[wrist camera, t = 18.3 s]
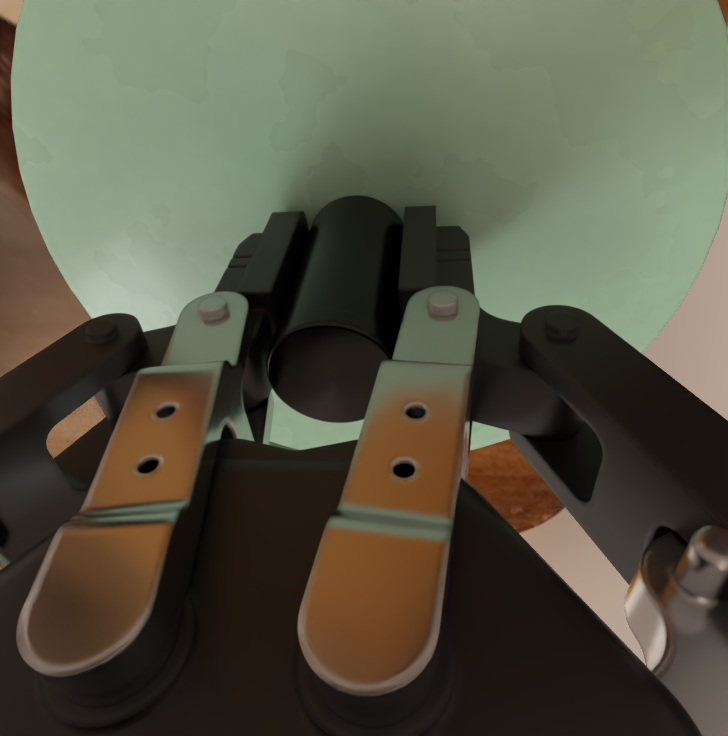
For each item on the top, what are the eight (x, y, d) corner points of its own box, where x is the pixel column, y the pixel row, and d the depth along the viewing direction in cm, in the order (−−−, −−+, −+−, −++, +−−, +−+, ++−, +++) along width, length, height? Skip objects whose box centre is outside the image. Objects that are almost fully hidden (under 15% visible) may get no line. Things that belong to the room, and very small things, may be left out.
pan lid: (161, 434, 21) (86, 591, 16) (-122, -178, 10) (-559, -217, 6) (629, 438, 19) (692, 618, 14) (868, -320, 8) (1398, -552, 4)
